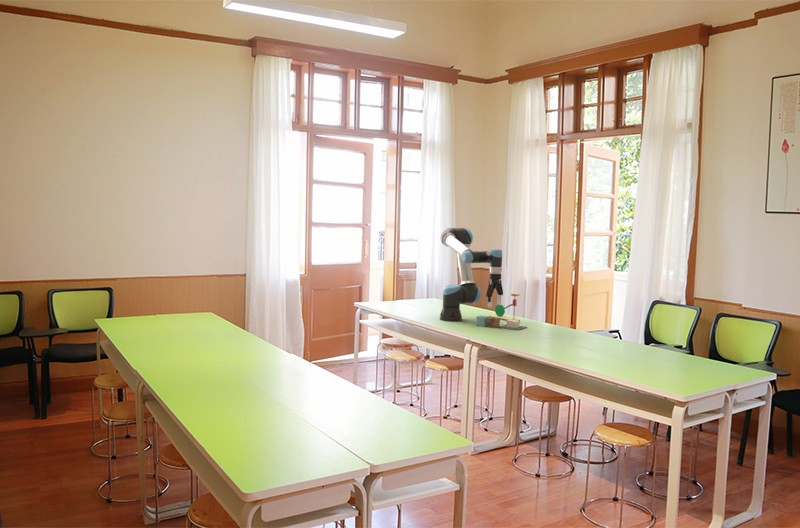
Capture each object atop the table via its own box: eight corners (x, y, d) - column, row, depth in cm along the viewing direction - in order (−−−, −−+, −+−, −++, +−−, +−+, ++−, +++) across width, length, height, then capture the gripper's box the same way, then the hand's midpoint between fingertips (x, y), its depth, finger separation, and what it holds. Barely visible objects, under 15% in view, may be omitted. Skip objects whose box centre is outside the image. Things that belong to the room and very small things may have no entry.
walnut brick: (487, 326, 428) (487, 317, 428) (490, 325, 433) (491, 316, 432) (496, 328, 425) (496, 318, 424) (499, 327, 429) (500, 317, 429)
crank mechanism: (521, 322, 451) (522, 294, 450) (514, 322, 447) (515, 294, 446) (494, 316, 471) (495, 289, 469) (488, 317, 467) (489, 290, 465)
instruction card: (493, 324, 438) (493, 323, 438) (498, 323, 444) (498, 322, 444) (507, 326, 432) (507, 325, 432) (511, 324, 438) (511, 324, 438)
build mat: (498, 327, 426) (498, 320, 425) (507, 324, 437) (507, 318, 437) (518, 330, 418) (518, 323, 418) (527, 327, 430) (527, 320, 429)
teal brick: (476, 325, 432) (476, 316, 432) (480, 324, 437) (480, 315, 437) (484, 326, 429) (484, 317, 428) (488, 325, 434) (488, 316, 434)
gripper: (492, 274, 413) (491, 308, 415) (509, 272, 434) (507, 304, 436) (481, 274, 418) (480, 307, 419) (498, 271, 438) (497, 303, 440)
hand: (494, 306), depth 427 cm, fingers open, 13 cm apart
